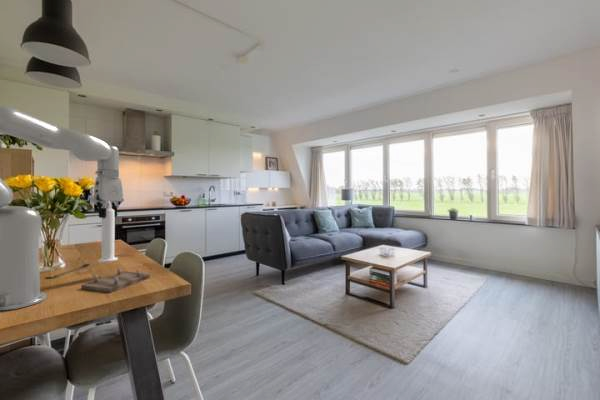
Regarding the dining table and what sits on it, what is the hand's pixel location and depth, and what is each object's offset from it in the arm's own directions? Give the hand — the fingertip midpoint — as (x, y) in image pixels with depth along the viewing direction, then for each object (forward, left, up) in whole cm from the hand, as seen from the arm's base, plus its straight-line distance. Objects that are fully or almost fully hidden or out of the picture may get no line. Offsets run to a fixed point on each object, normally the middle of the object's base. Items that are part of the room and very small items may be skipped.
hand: (108, 216), depth 118 cm
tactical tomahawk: (0, +21, -26) cm, 34 cm away
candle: (-1, 0, -19) cm, 19 cm away
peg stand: (-6, -12, -26) cm, 29 cm away
